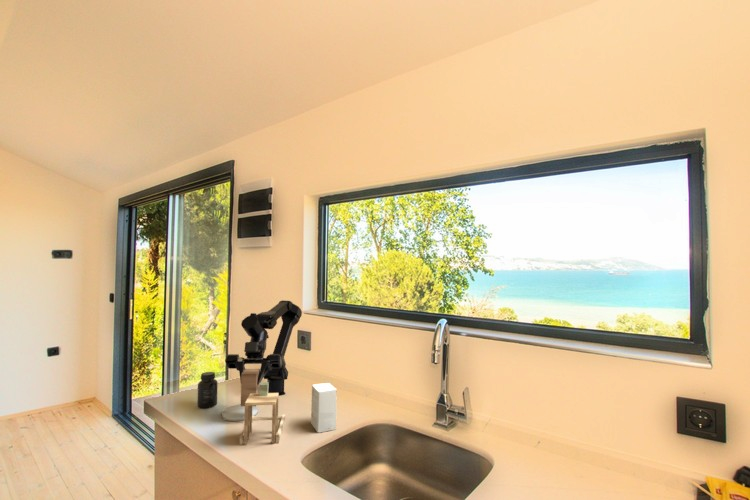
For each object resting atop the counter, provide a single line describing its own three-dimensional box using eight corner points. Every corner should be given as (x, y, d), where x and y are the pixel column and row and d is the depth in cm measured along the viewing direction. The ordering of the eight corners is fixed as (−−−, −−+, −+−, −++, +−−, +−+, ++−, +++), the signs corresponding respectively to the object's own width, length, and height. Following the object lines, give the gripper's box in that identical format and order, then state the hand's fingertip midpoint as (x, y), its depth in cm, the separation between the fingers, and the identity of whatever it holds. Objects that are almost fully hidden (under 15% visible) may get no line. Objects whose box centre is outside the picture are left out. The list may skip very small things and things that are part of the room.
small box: (336, 429, 120) (337, 389, 121) (317, 433, 117) (318, 392, 118) (328, 420, 127) (329, 382, 128) (310, 423, 125) (311, 384, 125)
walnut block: (244, 400, 128) (245, 368, 128) (259, 400, 129) (259, 368, 129) (240, 406, 123) (241, 373, 123) (255, 406, 124) (256, 373, 124)
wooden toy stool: (249, 432, 117) (250, 382, 117) (277, 430, 118) (278, 381, 118) (243, 444, 109) (245, 390, 109) (274, 443, 110) (275, 390, 110)
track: (251, 419, 127) (251, 412, 127) (285, 417, 128) (285, 411, 128) (239, 444, 109) (239, 436, 109) (278, 443, 111) (278, 434, 111)
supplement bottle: (220, 402, 141) (221, 371, 141) (210, 409, 134) (212, 376, 135) (203, 401, 142) (204, 370, 142) (193, 408, 135) (194, 375, 135)
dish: (252, 405, 139) (252, 401, 139) (261, 416, 129) (261, 412, 129) (219, 411, 133) (219, 408, 133) (225, 423, 123) (225, 420, 123)
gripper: (227, 331, 130) (215, 373, 119) (281, 331, 131) (274, 373, 120) (233, 347, 137) (223, 388, 126) (284, 347, 139) (278, 388, 128)
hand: (249, 384), depth 125 cm, fingers closed on walnut block, 5 cm apart
